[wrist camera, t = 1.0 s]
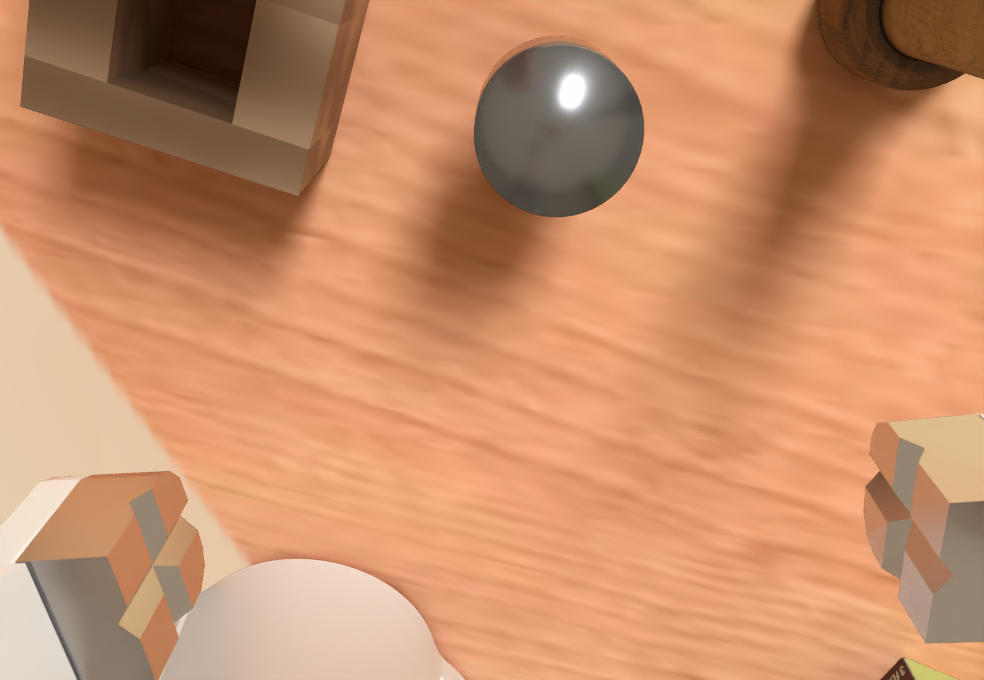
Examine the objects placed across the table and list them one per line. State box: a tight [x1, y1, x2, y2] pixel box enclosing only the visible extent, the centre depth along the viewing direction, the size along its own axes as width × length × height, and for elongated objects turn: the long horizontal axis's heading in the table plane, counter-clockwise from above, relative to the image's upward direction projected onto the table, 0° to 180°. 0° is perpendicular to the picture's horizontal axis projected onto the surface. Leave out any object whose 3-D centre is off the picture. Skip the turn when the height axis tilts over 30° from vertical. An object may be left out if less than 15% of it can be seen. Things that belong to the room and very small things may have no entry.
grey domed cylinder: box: [474, 36, 644, 217], centre depth 31 cm, size 6×6×8 cm
